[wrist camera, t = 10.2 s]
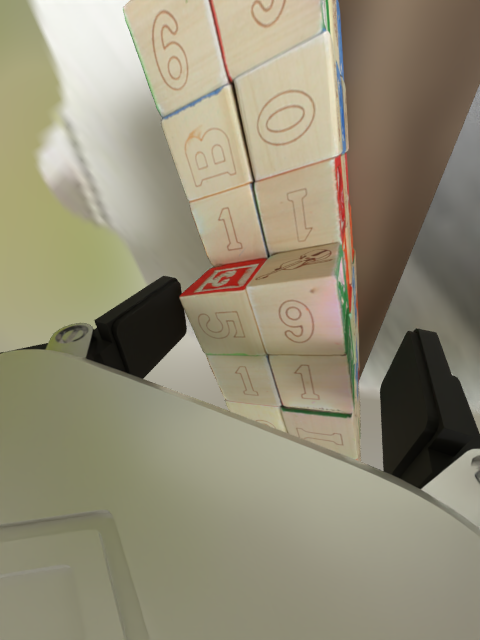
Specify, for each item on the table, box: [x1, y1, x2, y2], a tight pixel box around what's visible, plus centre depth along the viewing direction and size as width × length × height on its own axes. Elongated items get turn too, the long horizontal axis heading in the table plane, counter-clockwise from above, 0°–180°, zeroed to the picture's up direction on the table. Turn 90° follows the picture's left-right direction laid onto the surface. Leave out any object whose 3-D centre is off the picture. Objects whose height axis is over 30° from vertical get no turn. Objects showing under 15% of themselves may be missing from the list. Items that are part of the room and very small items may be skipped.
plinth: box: [338, 0, 480, 379], centre depth 21 cm, size 14×26×4 cm, turn 0°
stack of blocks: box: [123, 0, 361, 462], centre depth 14 cm, size 21×6×12 cm, turn 17°
